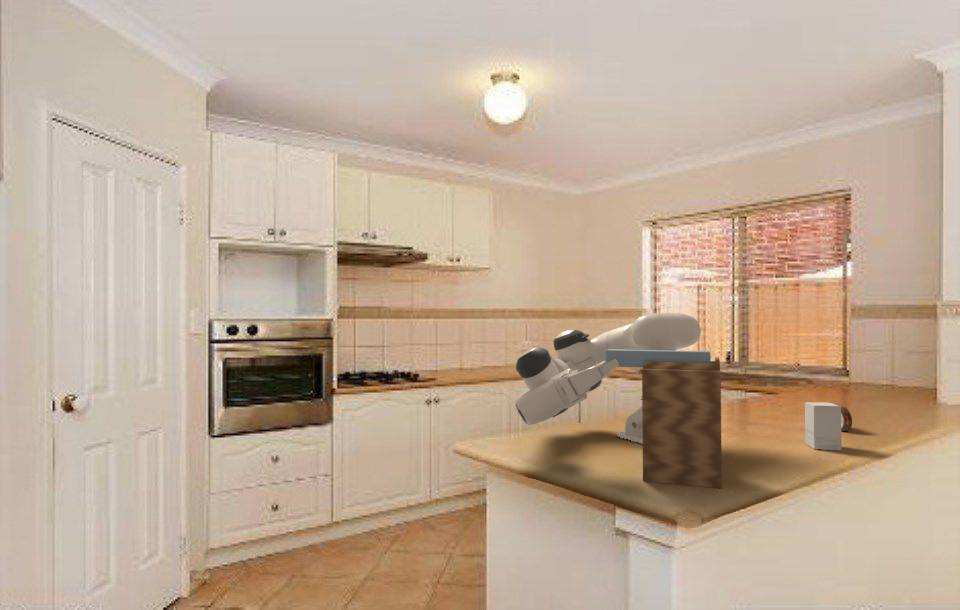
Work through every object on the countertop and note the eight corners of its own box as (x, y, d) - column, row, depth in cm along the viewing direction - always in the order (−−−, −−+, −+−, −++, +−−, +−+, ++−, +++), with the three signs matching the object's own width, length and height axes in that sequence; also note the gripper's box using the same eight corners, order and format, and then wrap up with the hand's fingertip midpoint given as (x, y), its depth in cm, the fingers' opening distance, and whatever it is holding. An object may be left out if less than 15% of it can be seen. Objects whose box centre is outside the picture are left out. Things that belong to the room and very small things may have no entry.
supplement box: (842, 450, 163) (841, 406, 163) (813, 449, 165) (813, 405, 165) (832, 445, 170) (831, 402, 171) (804, 444, 172) (804, 401, 172)
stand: (642, 480, 135) (642, 358, 135) (647, 465, 148) (646, 354, 148) (721, 488, 129) (720, 360, 129) (719, 472, 142) (718, 356, 142)
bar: (606, 366, 143) (606, 350, 143) (608, 364, 147) (608, 349, 147) (710, 369, 135) (710, 352, 135) (710, 367, 138) (710, 351, 138)
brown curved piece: (853, 433, 187) (853, 407, 187) (843, 433, 187) (843, 407, 187) (826, 424, 202) (825, 400, 202) (816, 424, 202) (816, 400, 202)
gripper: (586, 391, 157) (631, 367, 153) (570, 402, 138) (622, 375, 133) (574, 371, 158) (618, 346, 154) (557, 379, 139) (608, 351, 135)
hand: (620, 360), depth 143 cm, fingers open, 8 cm apart
